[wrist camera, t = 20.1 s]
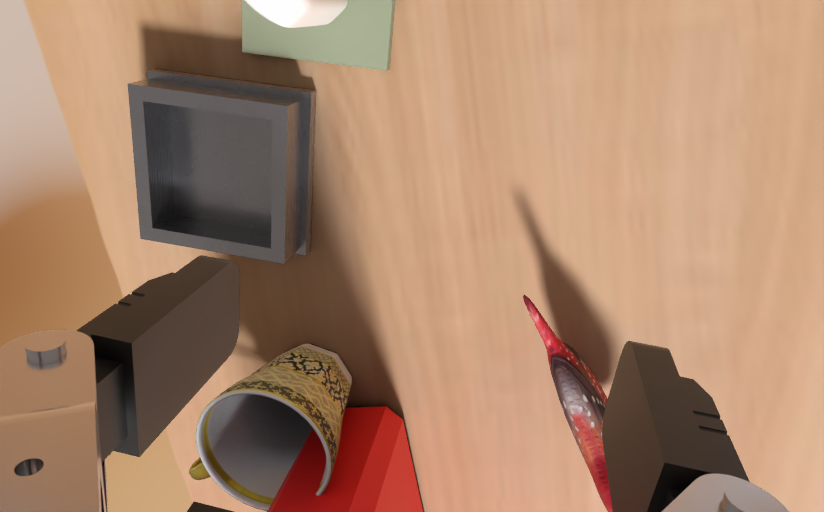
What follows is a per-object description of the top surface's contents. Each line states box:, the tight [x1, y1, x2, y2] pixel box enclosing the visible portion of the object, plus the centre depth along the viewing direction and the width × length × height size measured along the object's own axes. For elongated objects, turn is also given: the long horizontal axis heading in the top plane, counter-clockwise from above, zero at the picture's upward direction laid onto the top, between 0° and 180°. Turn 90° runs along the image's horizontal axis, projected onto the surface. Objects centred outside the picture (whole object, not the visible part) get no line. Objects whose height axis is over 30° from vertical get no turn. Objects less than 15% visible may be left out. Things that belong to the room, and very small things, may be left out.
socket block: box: [128, 69, 316, 264], centre depth 44 cm, size 12×12×4 cm
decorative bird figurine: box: [523, 295, 613, 512], centre depth 42 cm, size 3×18×10 cm, turn 28°
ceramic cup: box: [189, 344, 352, 511], centre depth 47 cm, size 13×10×10 cm
